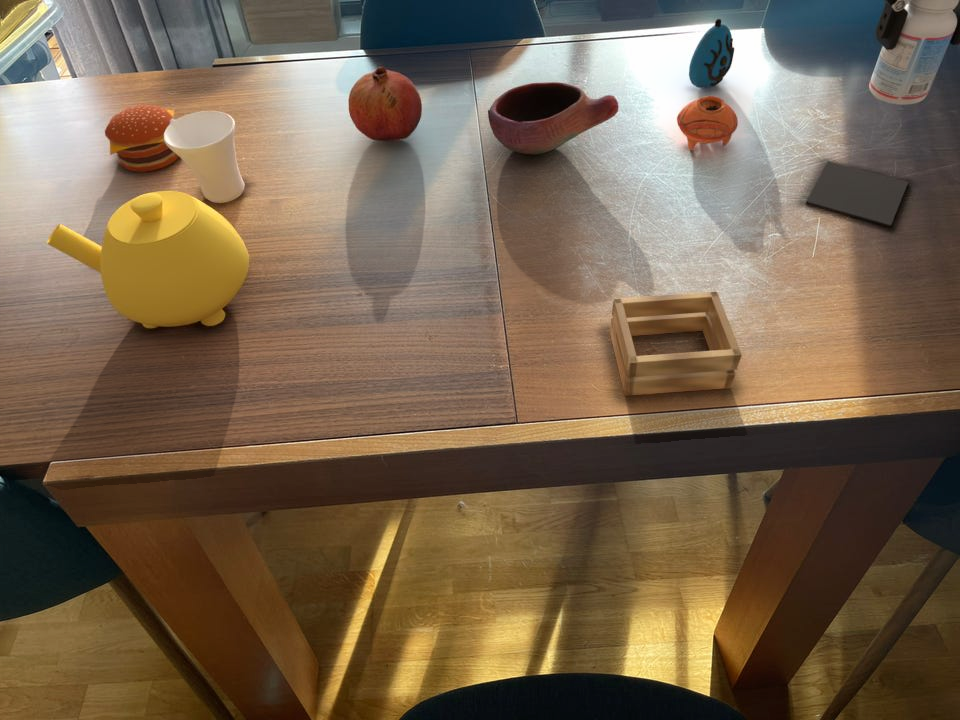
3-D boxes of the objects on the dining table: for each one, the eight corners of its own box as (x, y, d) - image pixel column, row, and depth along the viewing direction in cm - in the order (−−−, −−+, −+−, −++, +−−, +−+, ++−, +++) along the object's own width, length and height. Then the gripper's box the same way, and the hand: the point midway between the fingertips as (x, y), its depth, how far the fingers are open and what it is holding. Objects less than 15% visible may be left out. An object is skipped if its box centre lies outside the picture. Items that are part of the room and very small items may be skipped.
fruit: (435, 144, 105) (428, 77, 97) (370, 164, 102) (357, 97, 95) (408, 110, 111) (399, 45, 104) (345, 128, 109) (332, 62, 101)
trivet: (907, 183, 94) (908, 181, 93) (890, 227, 88) (891, 225, 88) (826, 162, 97) (827, 160, 97) (805, 203, 92) (805, 201, 92)
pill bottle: (922, 82, 83) (966, -23, 75) (928, 109, 79) (976, 2, 71) (864, 77, 85) (902, -26, 76) (868, 104, 81) (908, -2, 72)
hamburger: (118, 145, 108) (98, 104, 104) (184, 132, 110) (168, 90, 105) (118, 180, 102) (97, 137, 97) (188, 165, 104) (171, 122, 99)
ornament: (702, 101, 109) (715, 34, 102) (677, 90, 111) (688, 24, 104) (736, 80, 112) (751, 14, 105) (710, 70, 115) (723, 5, 107)
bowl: (504, 178, 98) (503, 124, 92) (480, 129, 107) (478, 76, 101) (617, 156, 100) (623, 102, 95) (585, 110, 109) (589, 58, 103)
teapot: (63, 351, 81) (-4, 255, 71) (109, 258, 91) (56, 162, 81) (243, 344, 80) (201, 246, 70) (269, 251, 91) (236, 154, 80)
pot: (737, 126, 103) (747, 88, 97) (725, 168, 100) (736, 131, 94) (680, 116, 105) (687, 78, 99) (667, 156, 102) (673, 119, 96)
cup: (220, 166, 103) (196, 101, 96) (269, 184, 100) (249, 118, 92) (173, 200, 99) (144, 134, 91) (223, 220, 95) (198, 153, 88)
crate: (707, 325, 79) (717, 290, 75) (731, 388, 73) (742, 354, 69) (609, 332, 79) (613, 298, 75) (624, 396, 73) (630, 362, 69)
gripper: (919, -142, 62) (849, 64, 75) (1123, -157, 62) (1017, 52, 75) (881, -166, 67) (822, 31, 80) (1071, -180, 67) (979, 20, 80)
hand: (917, 40), depth 78 cm, fingers closed on pill bottle, 6 cm apart
